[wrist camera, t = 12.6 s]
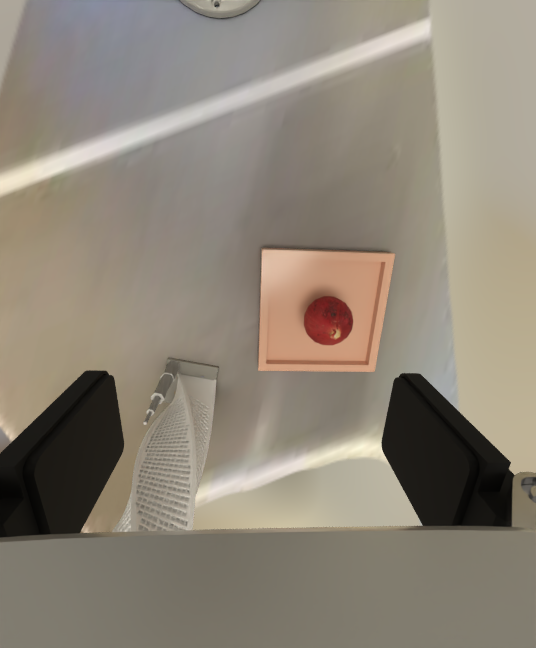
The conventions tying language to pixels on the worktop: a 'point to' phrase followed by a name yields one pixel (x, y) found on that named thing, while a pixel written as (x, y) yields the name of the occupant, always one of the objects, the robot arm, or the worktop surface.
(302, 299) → the dish
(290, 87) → the worktop surface
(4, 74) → the worktop surface
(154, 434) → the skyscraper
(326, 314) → the red round fruit
